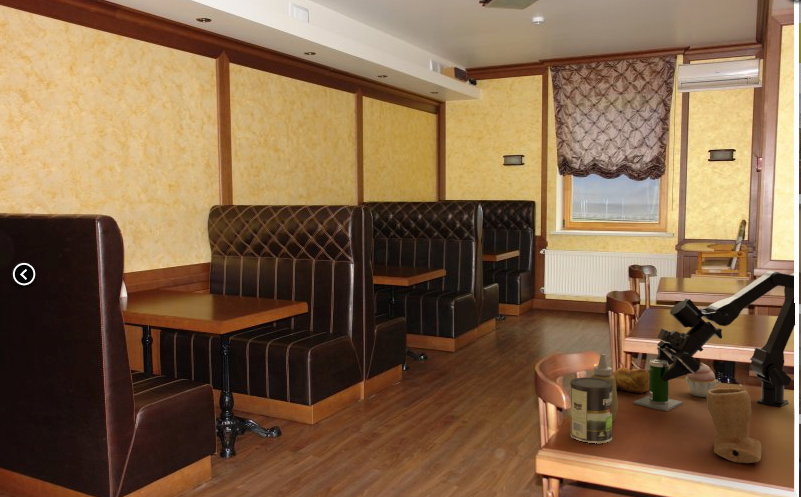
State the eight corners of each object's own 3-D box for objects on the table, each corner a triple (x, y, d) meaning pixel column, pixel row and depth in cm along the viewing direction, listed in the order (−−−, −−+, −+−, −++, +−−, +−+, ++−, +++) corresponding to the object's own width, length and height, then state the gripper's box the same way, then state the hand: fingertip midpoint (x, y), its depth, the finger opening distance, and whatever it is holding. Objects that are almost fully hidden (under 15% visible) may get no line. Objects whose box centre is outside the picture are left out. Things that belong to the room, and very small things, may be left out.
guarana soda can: (656, 405, 190) (656, 364, 189) (645, 399, 195) (645, 360, 194) (672, 403, 191) (673, 362, 190) (660, 398, 196) (661, 358, 195)
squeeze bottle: (585, 422, 177) (585, 356, 176) (588, 413, 185) (589, 350, 184) (616, 425, 174) (617, 359, 173) (619, 416, 182) (619, 352, 181)
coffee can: (616, 434, 168) (617, 380, 167) (606, 447, 159) (606, 390, 159) (577, 427, 174) (577, 375, 173) (564, 439, 165) (564, 384, 164)
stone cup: (708, 438, 164) (709, 379, 163) (762, 447, 158) (764, 385, 157) (701, 459, 151) (702, 395, 150) (760, 469, 145) (761, 402, 144)
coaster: (649, 396, 200) (649, 394, 200) (682, 403, 193) (682, 401, 193) (633, 403, 193) (633, 401, 193) (666, 411, 186) (666, 409, 186)
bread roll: (604, 390, 208) (604, 365, 207) (614, 383, 216) (614, 359, 215) (646, 396, 201) (646, 370, 200) (654, 389, 208) (655, 364, 208)
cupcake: (681, 389, 207) (682, 358, 206) (713, 391, 205) (714, 359, 204) (688, 398, 198) (689, 365, 197) (722, 399, 196) (722, 366, 195)
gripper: (663, 314, 200) (627, 350, 201) (689, 325, 182) (648, 365, 183) (689, 339, 201) (653, 375, 202) (717, 352, 182) (677, 392, 183)
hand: (657, 376), depth 192 cm, fingers open, 9 cm apart
